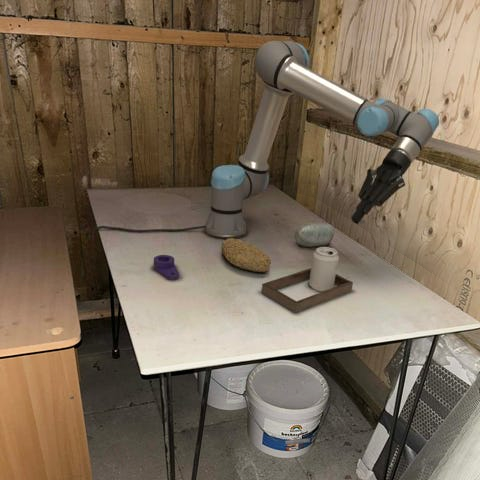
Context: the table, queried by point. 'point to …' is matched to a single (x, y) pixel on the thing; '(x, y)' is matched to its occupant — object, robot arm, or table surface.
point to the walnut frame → (296, 306)
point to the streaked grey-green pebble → (314, 234)
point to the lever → (166, 267)
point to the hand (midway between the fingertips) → (354, 220)
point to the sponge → (245, 255)
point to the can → (323, 269)
